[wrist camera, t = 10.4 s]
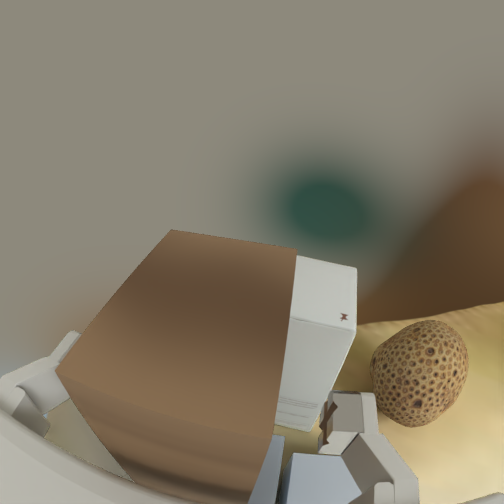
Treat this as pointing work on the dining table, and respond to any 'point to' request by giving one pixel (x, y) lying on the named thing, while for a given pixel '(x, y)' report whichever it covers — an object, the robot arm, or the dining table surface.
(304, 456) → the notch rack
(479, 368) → the dining table surface
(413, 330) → the natural sponge
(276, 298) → the frame block
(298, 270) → the supplement box
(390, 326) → the dining table surface
